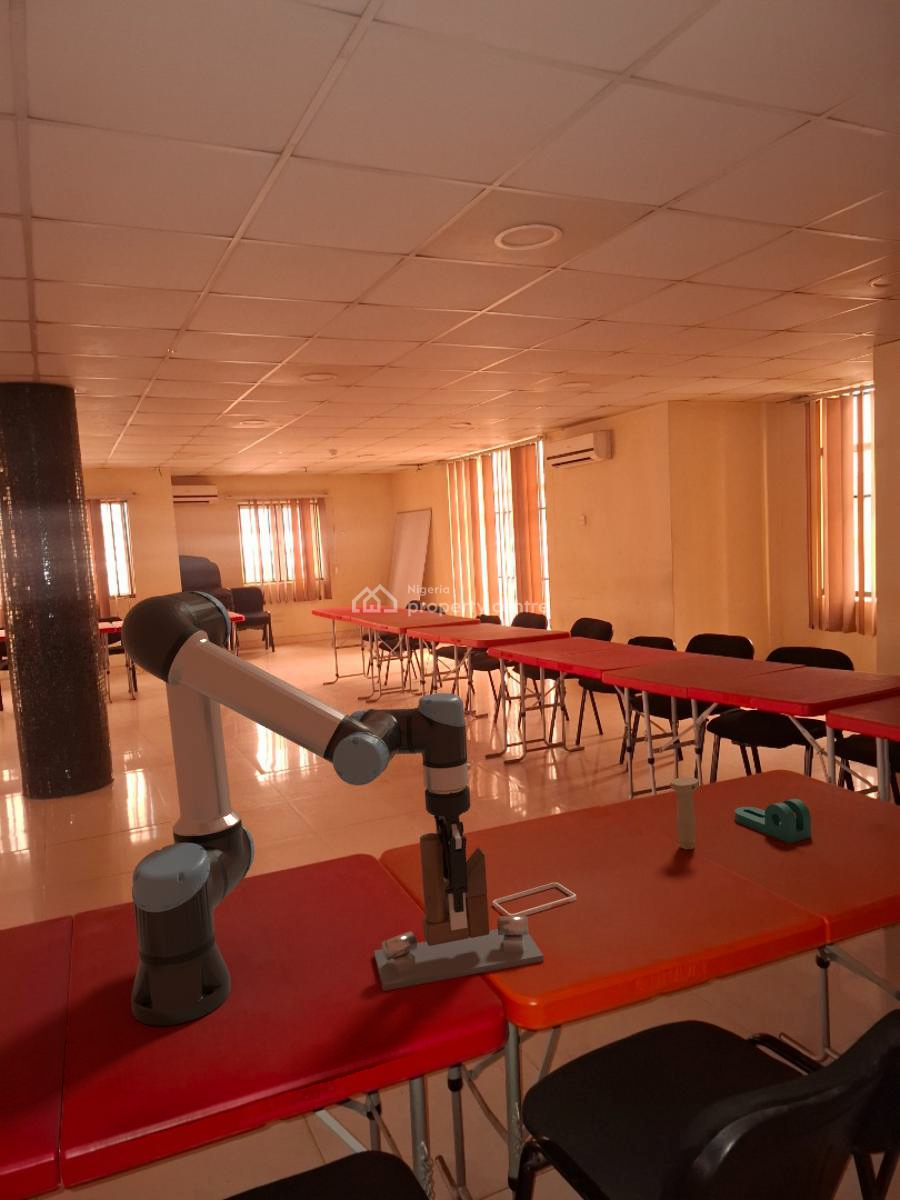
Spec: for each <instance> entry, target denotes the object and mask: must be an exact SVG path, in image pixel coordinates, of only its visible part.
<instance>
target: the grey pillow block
mask: <svg viewBox="0 0 900 1200" xmlns="http://www.w3.org/2000/svg"><path fill="white" fill-rule="evenodd" d="M417 943H418V941H417V938H416V935H415V934H414V932H413V931H411V930H410V931H407V932H403V933H402V934H399V935H397V936H396V935H395V936H394V937H391V938H388V939H386V940H383V941H382V942H381V949H382V951H383V954H384V956H385V958H386V964H387V965H388V966H390V967H391V968H392V969H393V970H394V971H395V972H396V973H397V974H398V975H400V974H402V973H405V972H407V971H410V970H412V969H415V968H416V963H415V956H414V955H413V954H412V953H410V952H411V951H414V950H416V949H417Z"/></svg>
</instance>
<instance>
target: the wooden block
mask: <svg viewBox="0 0 900 1200" xmlns="http://www.w3.org/2000/svg"><path fill="white" fill-rule="evenodd" d="M419 848H420V862H421V874H422V877H421V878H422V888H423V889H422V890H423V891H422V892H423V900H424V901H423V905H424V917H422V925H423V937H424V939H425V942H426V941H427V943H428V945H429V946H433V945H438V944H443V943H448V942H453V941H458V940H463V939H468V938H469V937H470V938H474V937H479V936H484V935H488V934H489V932H490V931H489V930H490V921H489V918H490V917H489V902H488V886H487V869H486V854H485V853H484V852H483V850H482V849H481V848H480V847H479V846H478V847H477V848H476V849H475V850H473V851H474V852H472V854H470V855H471V856H470V857H468V859H466V864H467V883H468V892H466V893H465V901H466V916H467V928H462V929H457V930H451V928H450V913H449V912H448V913H446V903H445V898H446V900H447V901H449V898H448V894H446V892H445V890H447V889H449V884H448V886H447V887H446V888H444V879H445V878H444V873H443V858H442V843H441V836H440V835H439V834H437V833H435V832H429V833H424V834H422V835H421V836H420V837H419Z"/></svg>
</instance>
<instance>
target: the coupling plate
mask: <svg viewBox="0 0 900 1200" xmlns="http://www.w3.org/2000/svg"><path fill="white" fill-rule="evenodd" d="M489 931H490V932H489V934H488V935H484V936H479V937H474V938H470V937H469V938H468V939H463V940H458V941H453V942H448V943H443V944H438V945H433V946H429V945H428V943H427V941H426V940H425V941H421V942H417V949H416V950H414V951H411V952H410V953H412V954H413V955H414V956H415V963H416V968H415V969H412V970H410V971H407V972H405V973H402V974H400V975H398V974H397V973H396V972H395V971H394V970H393V969H392V968H391V967H390V966H388V965H387V964H386V958H385V956H384V954H383V951H382V948H380V949H376V950H373V951H374V952H373V953H374V959H375V964H376V967H377V971H378V976H379V978H380V982H381V988H382V990H383V992H384V991H388V990H389V991H390V990H394V989H400V988H405V987H406V988H407V987H412V986H416V985H417V986H418V985H422V984H427V983H432V982H437V981H443V980H448V979H449V980H450V979H454V978H460V977H466V976H471V975H475V974H483V973H487V972H491V971H497V970H498V971H499V970H502V969H509V968H513V967H519V966H524V965H529V964H535V963H541V962H544V961H545V960H544V959H545V958H544V954H543V953H542V951H541V950H540V948H539V947H538V945H537V943H536V942H535V940H534V939H533V938H532V936H531V935H530V933H529V932H528V935H524V944H523V952H504V943H503V940H504V935H498V928H495V929H489Z"/></svg>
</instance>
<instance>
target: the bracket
mask: <svg viewBox="0 0 900 1200" xmlns="http://www.w3.org/2000/svg"><path fill="white" fill-rule="evenodd" d="M811 817H812V816H811V813H810V809H809V807H808V805H807V804H806V803H805V802H804V801H802V800H801V799H798V798H791V799H788V800H783V802H776V803H773V804H769V805H767V806H766V808H765V809H761V808H758V807H754V806H753V807H752V806H741V807H737V808H735V809H734V820H735V821H736V823H739V824H741V825H743V826H745V827H748V828H751V829H753V830H756V831H757V832H760V833H762V834H764V835H767V836H771V837H772V838H775V839H778V840H780V841H783V842H785V843H788V844H792V843H795V842H798V841H801V840H806V839H809V838H812V820H811V819H812V818H811Z"/></svg>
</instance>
